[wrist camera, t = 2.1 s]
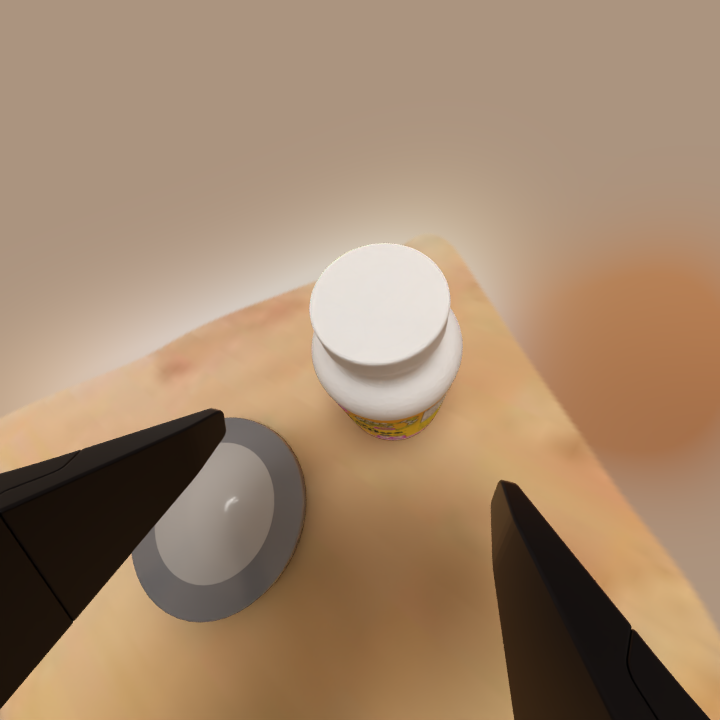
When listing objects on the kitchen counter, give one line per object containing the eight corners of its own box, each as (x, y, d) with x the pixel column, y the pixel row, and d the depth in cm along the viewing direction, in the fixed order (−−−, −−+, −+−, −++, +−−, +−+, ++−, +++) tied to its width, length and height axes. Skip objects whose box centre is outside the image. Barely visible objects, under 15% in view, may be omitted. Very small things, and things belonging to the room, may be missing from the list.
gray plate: (259, 654, 17) (249, 665, 16) (110, 565, 20) (95, 570, 19) (331, 449, 20) (327, 448, 19) (197, 400, 23) (188, 397, 22)
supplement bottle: (330, 405, 22) (239, 321, 10) (383, 338, 23) (358, 195, 11) (404, 462, 19) (401, 444, 8) (457, 385, 21) (524, 268, 9)
